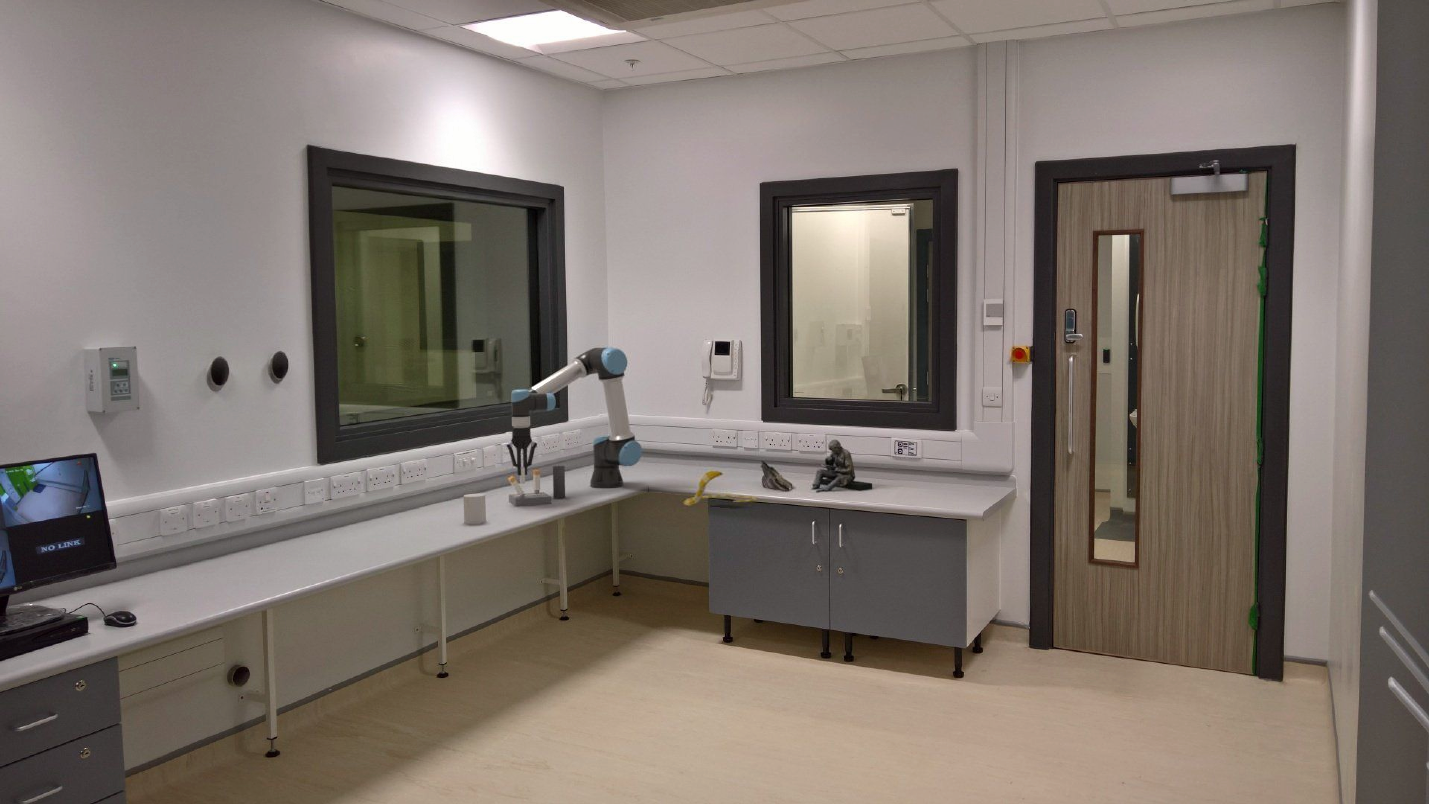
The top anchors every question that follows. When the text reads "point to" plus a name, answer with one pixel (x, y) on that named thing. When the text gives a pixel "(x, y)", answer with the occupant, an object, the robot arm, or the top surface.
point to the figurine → (838, 471)
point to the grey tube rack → (530, 499)
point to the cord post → (558, 482)
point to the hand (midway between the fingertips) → (522, 483)
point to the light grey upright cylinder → (474, 508)
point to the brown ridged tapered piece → (773, 478)
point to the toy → (698, 496)
